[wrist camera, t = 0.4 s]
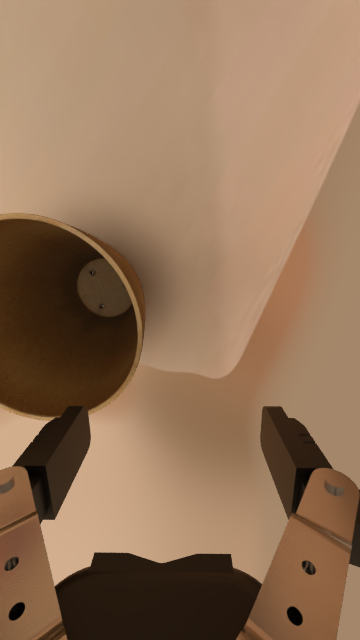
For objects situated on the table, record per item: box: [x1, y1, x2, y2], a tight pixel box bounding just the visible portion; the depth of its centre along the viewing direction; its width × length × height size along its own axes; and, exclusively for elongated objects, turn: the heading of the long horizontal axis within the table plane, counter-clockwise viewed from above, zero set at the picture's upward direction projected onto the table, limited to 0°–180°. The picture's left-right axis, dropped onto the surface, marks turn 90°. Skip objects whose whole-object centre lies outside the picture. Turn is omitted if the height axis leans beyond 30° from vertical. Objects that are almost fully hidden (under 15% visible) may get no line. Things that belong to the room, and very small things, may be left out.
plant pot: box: [0, 213, 145, 421], centre depth 26 cm, size 15×15×16 cm
